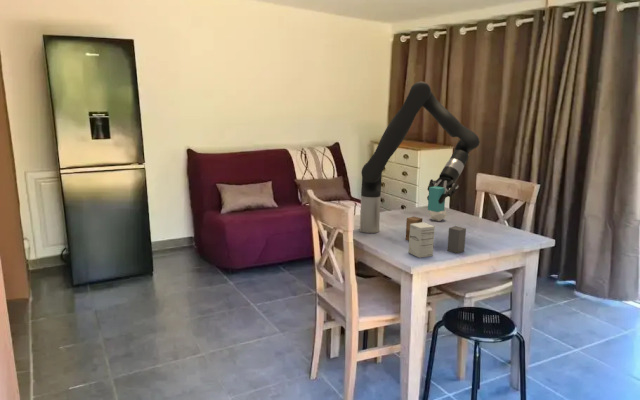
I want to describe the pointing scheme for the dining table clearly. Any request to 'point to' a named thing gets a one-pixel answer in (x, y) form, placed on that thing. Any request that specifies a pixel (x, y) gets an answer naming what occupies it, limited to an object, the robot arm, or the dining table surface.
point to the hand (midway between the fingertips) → (434, 201)
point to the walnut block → (411, 221)
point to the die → (437, 215)
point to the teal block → (435, 199)
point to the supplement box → (421, 239)
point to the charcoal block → (456, 239)
